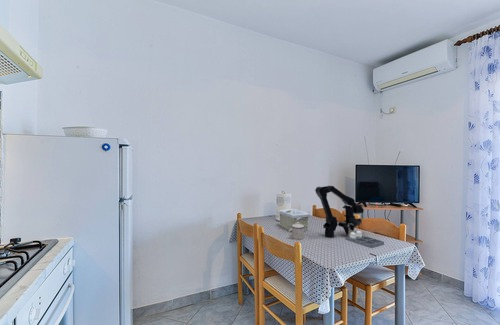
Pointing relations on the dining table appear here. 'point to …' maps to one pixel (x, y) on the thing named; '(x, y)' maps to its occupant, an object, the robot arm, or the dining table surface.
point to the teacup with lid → (297, 231)
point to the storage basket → (293, 218)
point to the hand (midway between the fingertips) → (349, 234)
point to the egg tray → (366, 241)
